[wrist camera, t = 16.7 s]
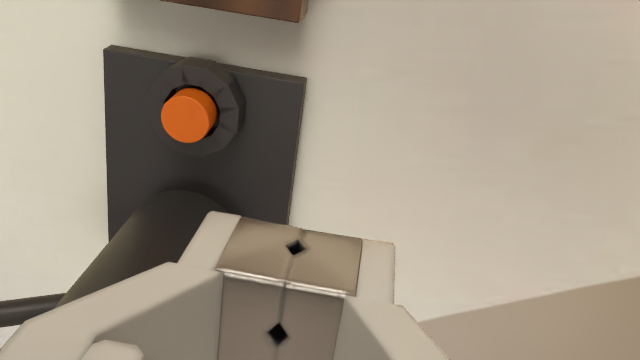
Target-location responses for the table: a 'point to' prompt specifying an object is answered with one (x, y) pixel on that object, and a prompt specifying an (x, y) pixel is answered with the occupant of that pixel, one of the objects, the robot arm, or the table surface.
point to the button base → (214, 148)
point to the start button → (188, 115)
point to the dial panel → (256, 7)
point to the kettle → (128, 250)
